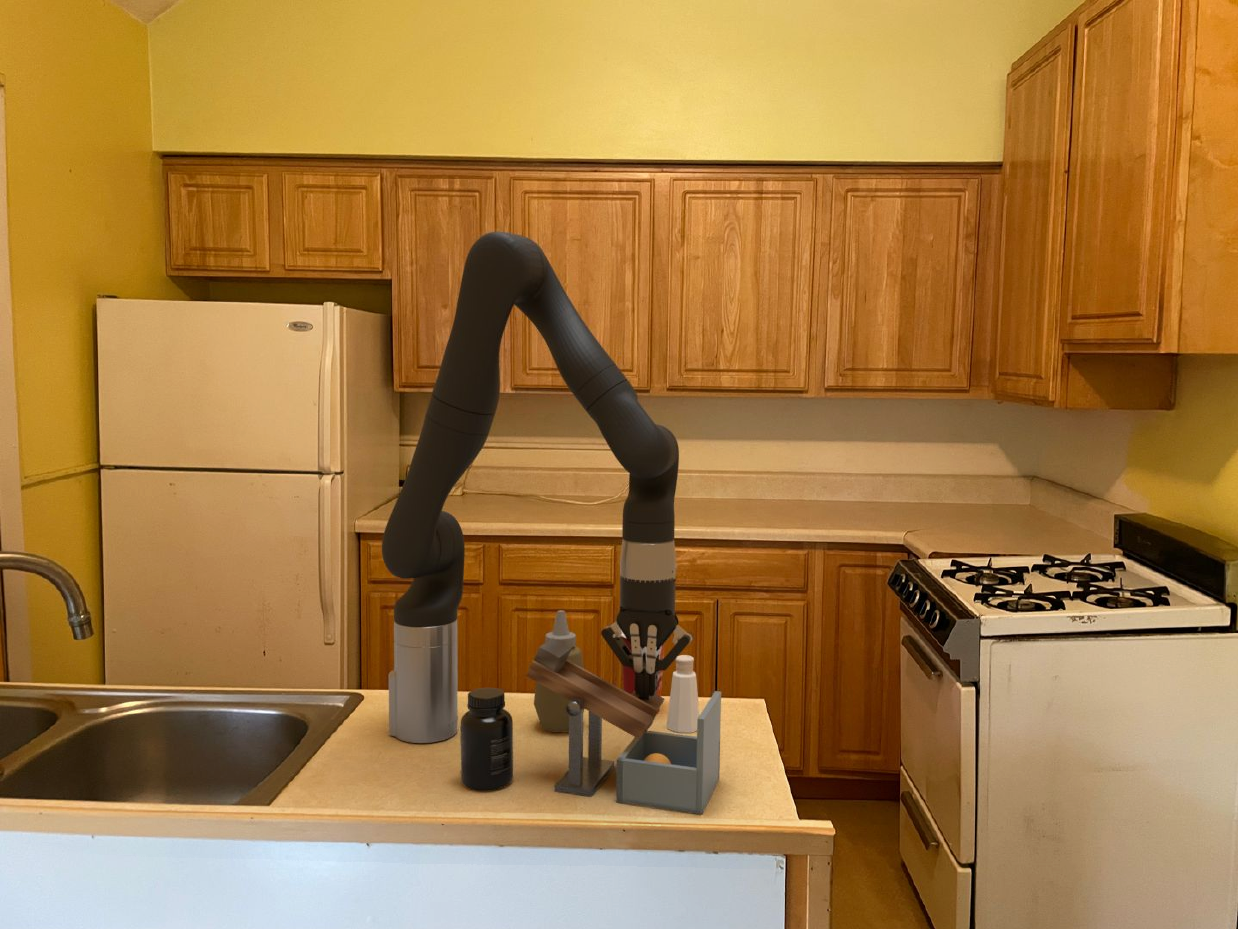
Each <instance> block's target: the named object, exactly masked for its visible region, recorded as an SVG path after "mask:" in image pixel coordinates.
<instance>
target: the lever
mask: <svg viewBox="0 0 1238 929" xmlns="http://www.w3.org/2000/svg"><path fill="white" fill-rule="evenodd" d="M571 649H572V648H571V647H569V646H567V645H565V644H563V643H561V642H560V641H558V640H556V639H554V638H552V639H550V640H549V641H547V642H546V643H545V642H544V643H543V644H542V645H540V646H539V647H538V648H537V652H536V654H535V657H534V658H533V660H532V661H531V663H530V665H529V668H528V670H527V673H526V675H525V676H526V677H527V678H529V679H531V680H533V681H534V682H535V683H536V682H538V683H540V684H541V685H543V686H545V687H547V688H549V689H550V690H552V691H554V692H556V693H557V694H559V695H561V696H563V697H565V698H566V699H568V700H570V699H571V698H575V699H584V703H583V708H584V709H585V710H586V711H588V712H589V711H590V712H591V713H593V714H595V715H597V716H599V717H600V718H602V720H604V721H606V722H608V723H609V724H611V725H613V726H614V727H616V728H618V729H619V730H622V731H624V732H626V734H627V733H628V735H631V736H632V737H633V738H634V737H636V738H638V739H641V738H642V736H643V735H644V734H645V732H646V731H649V728H650V727H651V726H652V725H653V722H654V721H655V718H656V716H657V715H658V714H657V712H658V709H659V707H660V708H661V706H662V705H663V703H664V701H665V697H663V696H662V695H661V696H659V695H657V694H655V695H654V696H653V697H652V698H651V699H650V700H645V699H639V695H637V694H636V693H635V690H634V692H633V693H632V694H629V693H627V692H626V691H624V689H622V688H620V687H618V686H616V685H615V684H613V683H611V682H609V681H607V680H605V679H604V678H602V677H601V676H598V675H596V674H595V673H594V672H591V671H589V670H588V669H585V668H584V667H583V668H582V667H580V666H578V665H576V664H575V663H573V662H571V661H569V660H567V658H568V656H569V653H570V651H571ZM659 710H660V709H659Z"/></svg>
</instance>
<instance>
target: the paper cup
mask: <svg viewBox="0 0 1238 929" xmlns="http://www.w3.org/2000/svg"><path fill="white" fill-rule="evenodd" d="M620 630H621V629H620ZM621 632H622V630H621ZM621 638H622V639H623V640H624V642H625V643H626V645H627V646H628V648H629V649H630V650H631V652H632V646H631V643H630V642H629V641H628V640H627V638H626V636H625V635H624V633H623V632H622V635H621ZM665 645H666V642H665V643H664V644H663V645H662V648H661V653H660V659H663V658H665ZM663 672H664V671H662V670H660V671H658V682H657V683H658V685H657V686H658V687H657V692H656V694H657V695H659V696H661V697H662V685H663ZM622 680H623V690H624V691H626V692H627V693H629V694H632V693H633V692H634V690H635V672H634V670H633V669H632V668H630V667H628V666H627V667H625V666H623V665H622ZM660 709H661V706H660V707H659V709H658V712H659V713H660ZM658 712H657V714H656V715H658V714H659V713H658Z"/></svg>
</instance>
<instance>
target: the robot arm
mask: <svg viewBox="0 0 1238 929" xmlns="http://www.w3.org/2000/svg"><path fill="white" fill-rule="evenodd" d="M465 258H466V259H465V263H464V267H463V272H462V276H461V280H460V287H459V292H458V298H457V302H456V303H457V304H456V308H455V313H454V318H453V324H452V327H451V331H450V334H449V337H448V340H447V343H446V347H445V350H444V353H443V357H442V360H441V363H440V367H439V370H438V373H437V377H436V380H435V382H434V386H433V388H432V391H431V394H430V398H429V402H428V404H427V408H426V411H425V416H424V418H423V424H422V426H421V431H420V434H419V437H418V441H417V444H416V447H415V449H414V453H413V455H412V459H411V461H410V465H409V468H408V471H407V474H406V477H405V479H404V482H403V485H402V488H401V489H400V492H399V495H398V497H397V499H396V501H395V504H394V507H393V509H392V511H391V512H390V515H389V518H388V521H387V523H386V526H385V529H384V531H383V535H382V542H381V556H382V560H383V563H384V565H385V568H386V569H387V571H389V573H390V574H391V575H393V577H395V578H399V579H403V580H407V579H413V580H412V582H411V584H410V585H409V587H408V589H407V590H406V591H405V592H404V594H402V595H401V596H400V597H399V598H398V599H397V600H396V602H395V604H394V606H393V607H394V608H393V641H394V643H393V648H394V649H393V651H394V653H393V655H394V657H393V658H394V660H393V661H394V662H393V663H394V665H393V667H394V668H393V670H391V671H390V672H389V673H388V735H389V736H393V737H396V738H397V739H398V740H400V741H403V742H407V743H414V744H415V743H416V744H430V743H437V742H441V741H445V740H448V739H450V738H452V737H453V736H455V735H456V734H457V732H458V720H459V717H458V610H459V606H460V604H461V601H462V599H463V598H462V597H463V594H464V575H465V574H464V573H465V556H466V555H465V554H466V550H465V549H466V548H465V537H464V533H463V532H464V531H463V529H462V527H461V525H460V523H459V521H458V520H457V519H456V517H454V515H453V514H451V513H449V512H447V511H443V508H444V506H445V502H446V501H447V499H448V497H449V495H450V493H451V491H452V490H453V488H454V487H455V486H456V484H457V483H458V481H459V480H460V478H461V477H463V475H464V474H465V473H466V471H467V470H468V469H469V468H470V466H471V465H472V464H473V462H474V461H475V459H476V458H477V457H478V455H479V454H480V452H481V451H482V449H483V448H484V446H485V444H486V443H487V442H486V441H487V439H488V437H489V434H490V432H491V431H490V430H491V428H492V425H493V422H494V418H495V415H496V412H497V408H498V405H499V401H500V396H501V395H500V392H501V372H500V350H501V346H502V345H501V344H502V339H503V335H504V332H505V329H506V326H507V324H508V321H509V318H510V316H511V314H512V313H511V312H512V310H513V307H514V306H515V307H516V308H517V309H518V310H520V312H521V313H522V314H524V315H525V317H526V318H527V319H528V320H529V321H530V322H531V323H532V324H533V325H534V327H535V328H536V329H537V330H538V332H539V334H540V336H541V337H542V339H543V340H544V341H545V344H546V346H547V348H548V350H549V352H550V354H551V357H552V358H553V360H554V363H555V365H556V368H557V370H558V372H559V374H560V376H561V378H562V380H563V382H564V384H565V385H566V386H567V388H568V389H569V391H570V392H571V393H572V394H573V396H574V397H575V399H576V400H577V401H578V402H579V403H578V404H580V405H581V406H582V408H583V409H584V411H585V412H587V414H588V415H589V417H590V418H591V419H592V420H593V421H594V422H595V424H596V425H597V427H598V430H599V431H600V433H601V435H602V437H603V439H604V440H605V442H606V444H607V446H608V447H609V449H610V451H611V452H612V455H613V456H614V458H615V459H616V460H617V462H618V463H619V464H620V465H621V466H622V467H623V469H624V470H625V471H626V472H627V473H629V476H628V477H629V478H628V480H629V481H628V493H627V497H626V499H625V500H624V504H623V508H622V526H621V527H622V530H621V531H622V532H621V533H622V538H621V539H622V542H621V549H620V556H619V568H620V569H619V575H620V576H619V611H618V613H617V614H616V617H615V620H616V621H614V622H613V623H612V624H608V625H607V626H606V627H604V628H603V629H602V630H601V632H600V633H601V634H600V635H601V637H602V638H603V639H604V641H605V642H606V643H607V645H608V646H609V647H610V649H611V651H612V652H613V654H614V655H615V656H616V658H617V659H618V660H619V662H620V664H621V665H622V667H623V666H625V667H627V666H628V667H630V668H632V669H633V670H634V672H635V693H636V694H637V695H639V699H645V700H650V699H651V698H652V697H653V696H654V695H655V694H656V692H657V687H658V686H657V685H658V683H657V682H658V671H660V670H662V671H663V672H664V671H667V670H668V668H669V667H670V666H671V665H672V664H673V663H674V661H676V658H677V657H678V656H680V655H681V654H682V652H683V651H684V649H686V648H687V647H688V646H689V644H690V643H691V642H692V640H693V639H694V634H693V633H692V632H691V631H686V630H685V629H683V627H681V626H680V625H679V622H680V621H679V617H678V616H677V614H676V580H677V579H676V576H677V554H676V547H675V546H676V545H675V525H676V524H675V522H676V520H675V516H676V515H675V497H676V490H677V484H678V476H679V466H680V465H679V464H680V450H679V449H680V448H679V444H678V440H677V438H676V436H675V434H674V433H673V432H672V431H671V430H670V429H669V428H667V427H666V426H664V425H662V424H661V425H660V424H656V423H655V422H654V421H653V419H652V418H651V417H650V415H649V414H648V413H647V412H646V410H645V409H644V407H643V406H642V405H641V403H640V401H638V399H639V398H638V397H639V396H638V394H637V391H636V390H635V388H634V386H633V385H632V384H631V382H630V381H629V380H628V378H627V377H626V376H625V374H624V373H623V372H622V371H621V369H620V368H619V366H618V365H617V364H616V362H615V361H614V360H613V359H612V358H611V356H610V355H609V354H608V353H607V351H606V350H605V349H604V347H603V346H602V344H601V343H600V341H599V340H598V339H597V338H596V336H594V334H593V332H592V331H591V330H590V329H589V327H588V325H587V323H585V321H584V320H583V318H582V317H581V315H580V314H579V312H578V311H577V309H576V308H575V305H574V304H573V302H572V301H571V299H570V298H569V296H568V294H567V292H566V291H565V288H564V287H563V285H562V283H561V282H560V279H559V278H558V275H557V274H556V272H555V271H554V269H553V267H552V264H551V263H550V261H549V259H548V257H547V255H546V254H545V253H544V251H543V249H542V248H541V246H540V245H539V244H538V243H537V242H535V240H533V239H531V238H529V237H527V236H525V235H521V234H517V233H515V234H514V233H511V232H507V231H506V232H505V231H491V232H488V233H484V234H483V235H481V236H480V237H479V238H478V239H477V240H476V241H475V242H474V243H473V244H472V246H471V248H470V249H469V251H468V253H467V256H466V257H465ZM621 630H622V632H623V633H624V635H625V636H626V638H627V640H628V641H629V642H630V643H631V646H632V652H631V650H630V649H629V648H628V646H627V645H626V643H625V642H624V640H623V639H622V638H621V635H622V632H621ZM672 634H674V636H673V638H672V643H673V644H674V646H673V647H672V648H671V650H669V651H668V653H667V654H666V655H664V658H663V659H660V653H661V648H662V645H663V644H664V643H665V644H666V642H667V640H668V639H669V638H670V637H671V636H672Z"/></svg>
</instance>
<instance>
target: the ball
mask: <svg viewBox="0 0 1238 929" xmlns="http://www.w3.org/2000/svg"><path fill="white" fill-rule="evenodd" d="M644 761H649V762H657V763H664V764H671V763H670V761H669V759H668V758H667V757H666V756H664V755H662V754H659V753H654V754H651V755H649V756H647V757H646V758H645V759H644Z"/></svg>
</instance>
